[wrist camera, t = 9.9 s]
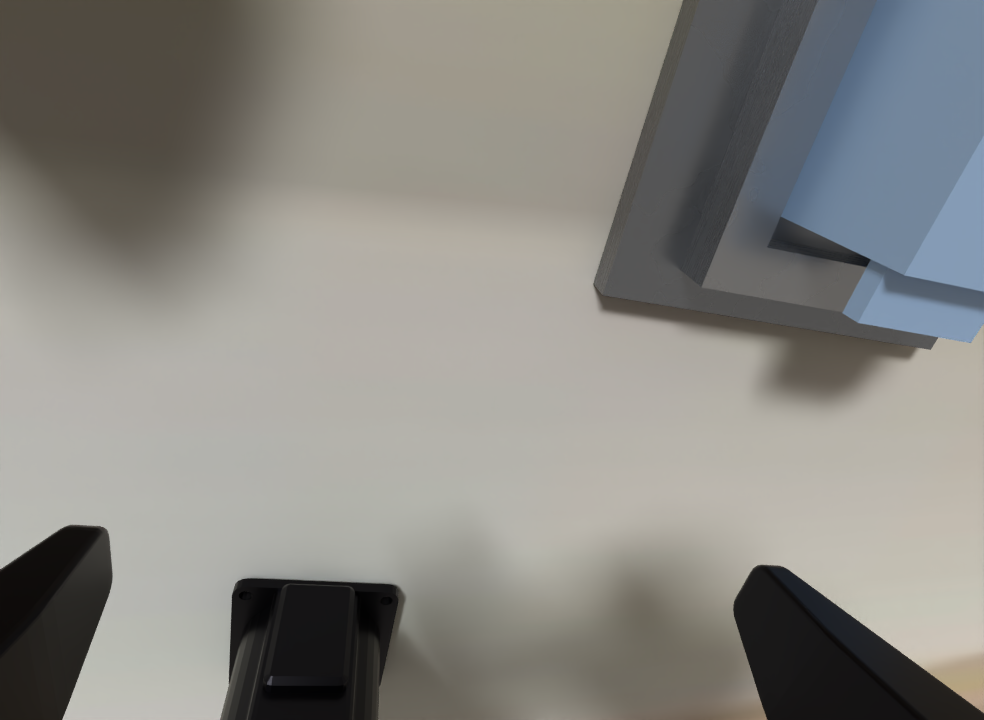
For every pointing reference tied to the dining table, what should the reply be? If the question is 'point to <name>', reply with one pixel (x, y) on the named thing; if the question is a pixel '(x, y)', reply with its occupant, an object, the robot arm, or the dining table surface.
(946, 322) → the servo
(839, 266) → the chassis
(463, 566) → the dining table surface
